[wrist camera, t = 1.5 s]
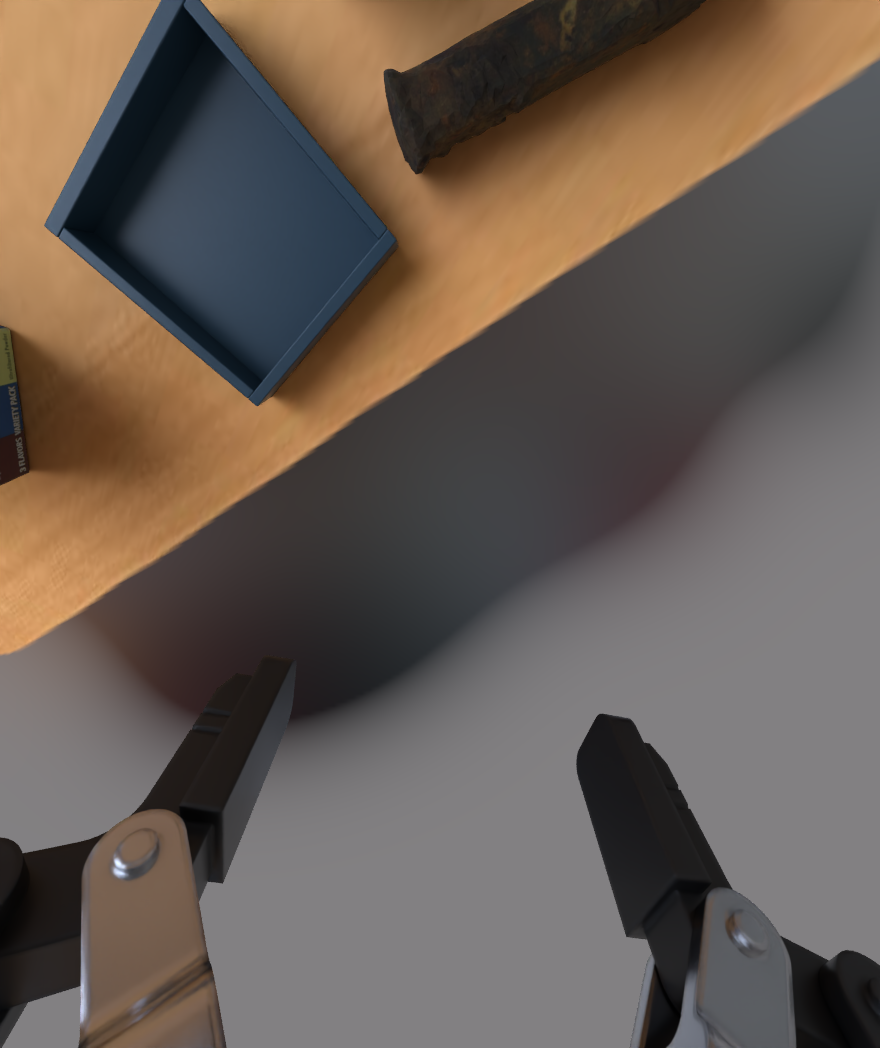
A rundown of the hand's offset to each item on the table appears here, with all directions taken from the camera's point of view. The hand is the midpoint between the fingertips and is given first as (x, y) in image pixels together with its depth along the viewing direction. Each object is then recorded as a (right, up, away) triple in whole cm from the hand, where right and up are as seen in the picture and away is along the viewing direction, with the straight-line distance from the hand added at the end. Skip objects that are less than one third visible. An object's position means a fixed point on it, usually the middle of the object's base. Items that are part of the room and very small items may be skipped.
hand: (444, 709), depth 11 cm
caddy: (-12, +22, +14) cm, 28 cm away
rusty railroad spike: (+6, +30, +10) cm, 32 cm away
